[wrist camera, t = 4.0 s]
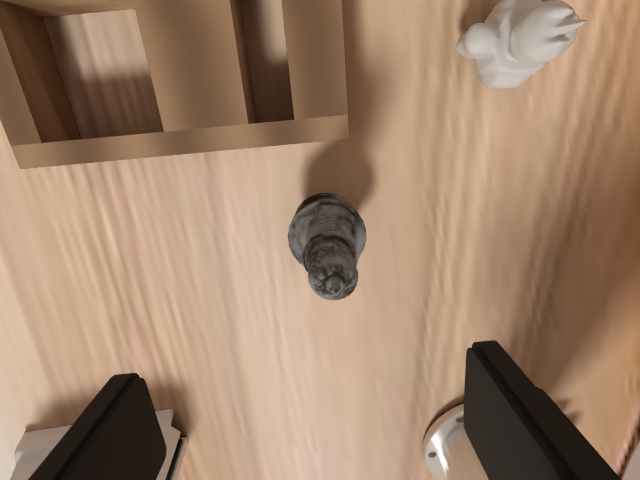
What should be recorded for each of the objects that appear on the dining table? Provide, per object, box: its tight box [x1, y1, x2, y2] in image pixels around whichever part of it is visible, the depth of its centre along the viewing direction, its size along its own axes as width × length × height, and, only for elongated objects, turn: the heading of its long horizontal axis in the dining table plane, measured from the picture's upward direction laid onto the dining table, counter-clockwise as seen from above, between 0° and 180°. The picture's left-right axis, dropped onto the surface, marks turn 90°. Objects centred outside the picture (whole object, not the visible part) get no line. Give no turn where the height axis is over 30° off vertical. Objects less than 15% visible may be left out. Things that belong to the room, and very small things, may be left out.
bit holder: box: [0, 0, 349, 169], centre depth 22 cm, size 22×11×4 cm, turn 95°
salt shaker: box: [288, 193, 366, 300], centre depth 23 cm, size 6×6×12 cm
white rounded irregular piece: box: [457, 0, 587, 89], centre depth 21 cm, size 5×7×8 cm
